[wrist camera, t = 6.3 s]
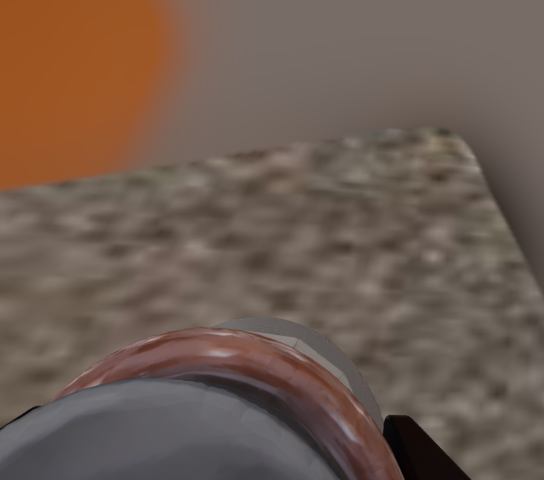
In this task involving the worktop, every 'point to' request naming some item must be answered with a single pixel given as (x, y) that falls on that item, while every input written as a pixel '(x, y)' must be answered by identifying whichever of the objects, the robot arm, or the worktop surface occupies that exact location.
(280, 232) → the worktop surface
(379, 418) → the faceted metal ring
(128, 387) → the supplement bottle
